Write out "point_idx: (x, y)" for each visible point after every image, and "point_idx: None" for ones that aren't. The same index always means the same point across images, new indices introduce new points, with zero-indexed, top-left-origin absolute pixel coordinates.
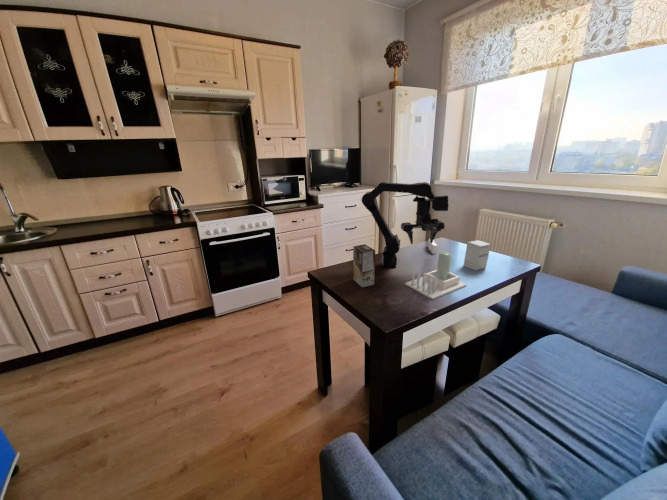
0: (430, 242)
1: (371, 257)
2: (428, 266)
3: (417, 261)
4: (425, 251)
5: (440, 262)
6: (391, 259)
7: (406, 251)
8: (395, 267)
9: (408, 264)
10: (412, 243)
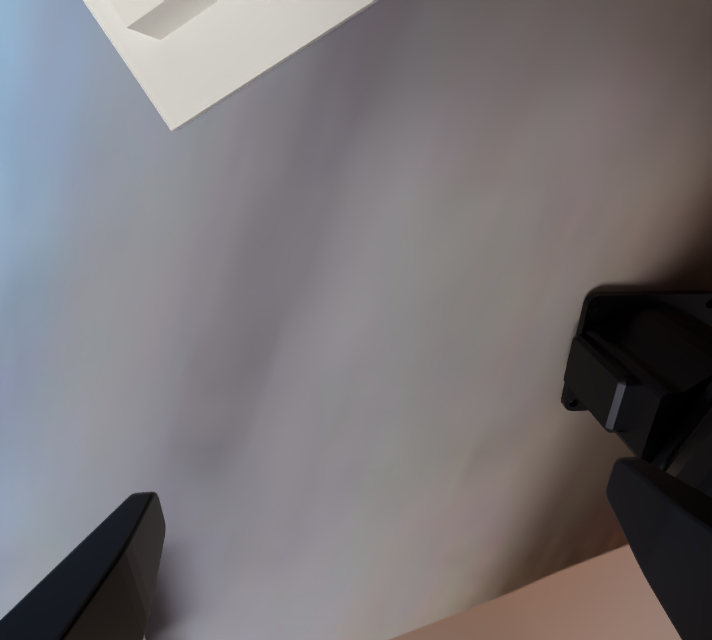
0: (162, 520)
1: None
2: (236, 317)
3: (314, 430)
4: (181, 608)
5: None
6: (703, 342)
7: (346, 607)
8: (597, 293)
9: (426, 369)
10: (636, 467)
